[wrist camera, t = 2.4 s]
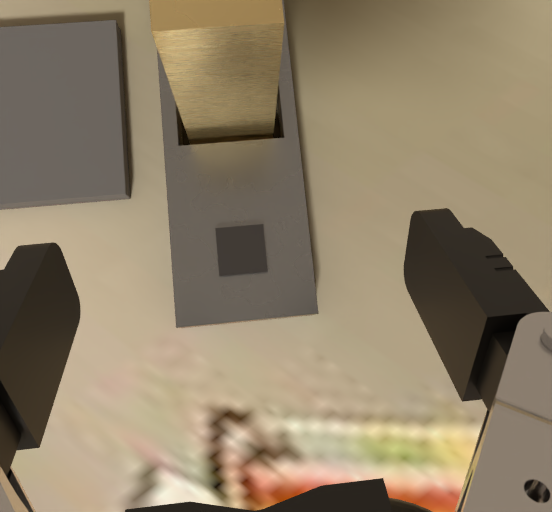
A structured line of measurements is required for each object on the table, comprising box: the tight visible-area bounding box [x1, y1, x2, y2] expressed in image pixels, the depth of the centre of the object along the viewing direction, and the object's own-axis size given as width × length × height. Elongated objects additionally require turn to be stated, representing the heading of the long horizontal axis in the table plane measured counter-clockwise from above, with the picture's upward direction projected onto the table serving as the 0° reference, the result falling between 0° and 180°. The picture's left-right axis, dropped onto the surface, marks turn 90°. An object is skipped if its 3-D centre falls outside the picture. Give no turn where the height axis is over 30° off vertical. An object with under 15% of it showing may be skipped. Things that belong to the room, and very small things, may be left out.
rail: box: [157, 0, 318, 328], centre depth 27 cm, size 24×7×2 cm, turn 6°
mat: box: [0, 20, 130, 210], centre depth 27 cm, size 10×10×1 cm
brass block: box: [149, 0, 284, 145], centre depth 22 cm, size 4×4×11 cm
